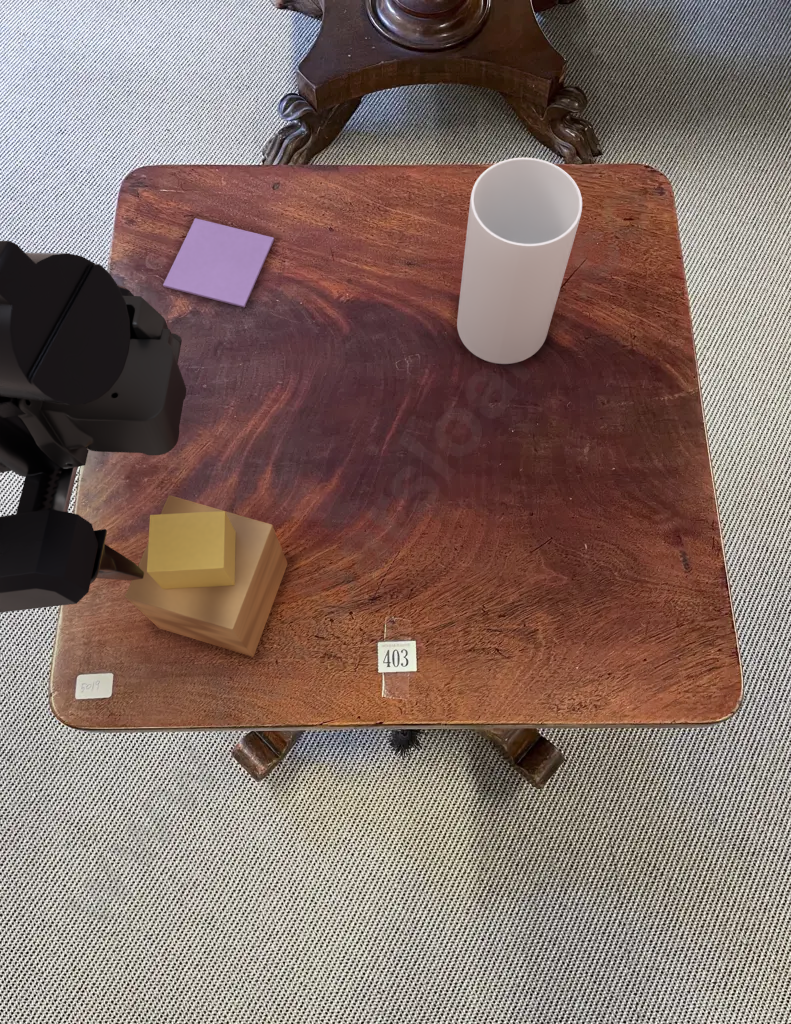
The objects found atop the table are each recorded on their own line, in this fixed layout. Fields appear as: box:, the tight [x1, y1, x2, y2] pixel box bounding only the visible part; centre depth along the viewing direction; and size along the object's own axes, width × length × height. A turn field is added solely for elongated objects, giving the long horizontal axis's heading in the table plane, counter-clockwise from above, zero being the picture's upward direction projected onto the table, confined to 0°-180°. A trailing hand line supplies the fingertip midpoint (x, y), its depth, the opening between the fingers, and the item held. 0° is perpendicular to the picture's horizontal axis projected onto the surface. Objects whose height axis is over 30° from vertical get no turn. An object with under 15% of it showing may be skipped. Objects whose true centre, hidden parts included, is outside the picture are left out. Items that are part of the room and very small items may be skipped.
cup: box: [456, 157, 583, 365], centre depth 70 cm, size 8×8×16 cm
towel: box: [162, 217, 275, 308], centre depth 80 cm, size 8×8×1 cm
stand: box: [124, 494, 288, 658], centre depth 64 cm, size 8×8×9 cm
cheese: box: [147, 510, 236, 589], centre depth 58 cm, size 5×4×4 cm
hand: (150, 508), depth 53 cm, fingers open, 9 cm apart
